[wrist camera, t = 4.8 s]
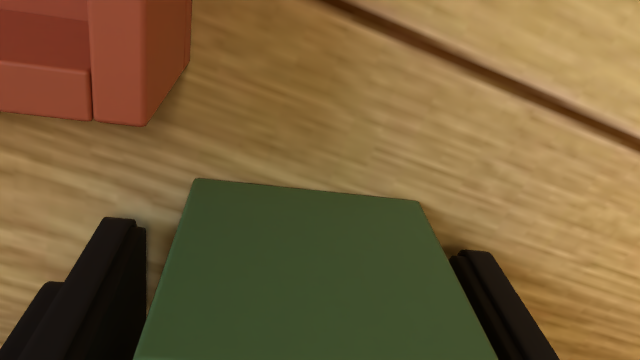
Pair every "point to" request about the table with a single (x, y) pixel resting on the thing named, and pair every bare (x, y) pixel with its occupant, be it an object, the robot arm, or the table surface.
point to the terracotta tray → (92, 57)
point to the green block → (307, 281)
